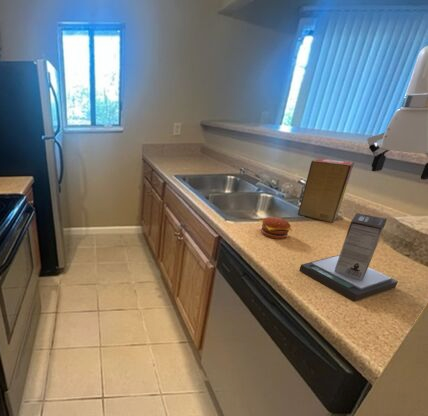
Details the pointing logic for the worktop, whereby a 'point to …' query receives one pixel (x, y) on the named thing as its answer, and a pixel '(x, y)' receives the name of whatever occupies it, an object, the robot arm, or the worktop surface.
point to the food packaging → (325, 189)
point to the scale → (348, 279)
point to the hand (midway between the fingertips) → (399, 174)
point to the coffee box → (359, 245)
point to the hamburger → (275, 227)
